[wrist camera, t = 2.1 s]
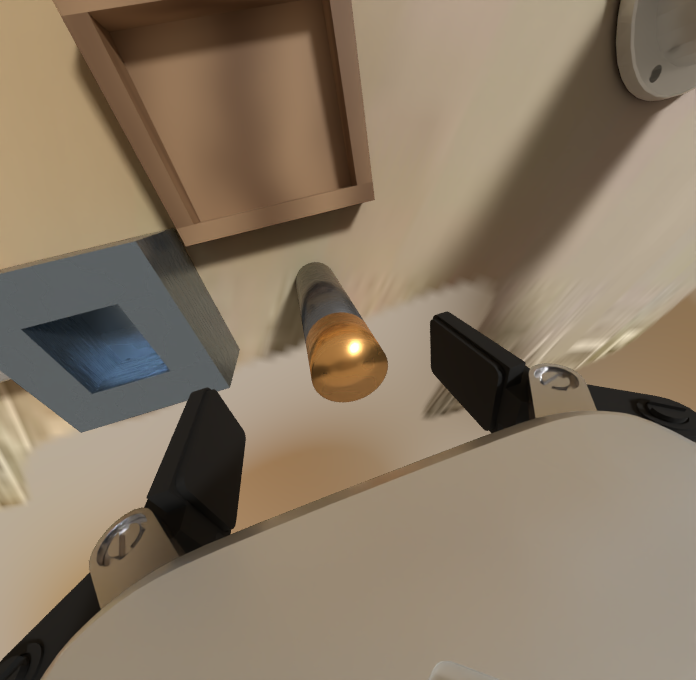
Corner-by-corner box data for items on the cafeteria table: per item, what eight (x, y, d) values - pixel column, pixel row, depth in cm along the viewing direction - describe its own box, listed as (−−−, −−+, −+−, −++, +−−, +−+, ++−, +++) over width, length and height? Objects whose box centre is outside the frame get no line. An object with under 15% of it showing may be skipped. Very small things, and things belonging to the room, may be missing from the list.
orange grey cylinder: (330, 257, 19) (383, 329, 9) (338, 295, 21) (391, 389, 11) (290, 268, 19) (301, 354, 9) (302, 305, 21) (322, 411, 11)
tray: (333, -28, 12) (343, -69, 10) (364, 198, 18) (374, 199, 16) (80, 12, 11) (39, -25, 9) (196, 240, 17) (185, 246, 15)
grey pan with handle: (173, 228, 16) (135, 241, 12) (239, 349, 21) (229, 387, 17) (-111, 295, 15) (-268, 338, 10) (38, 407, 20) (-25, 464, 16)
